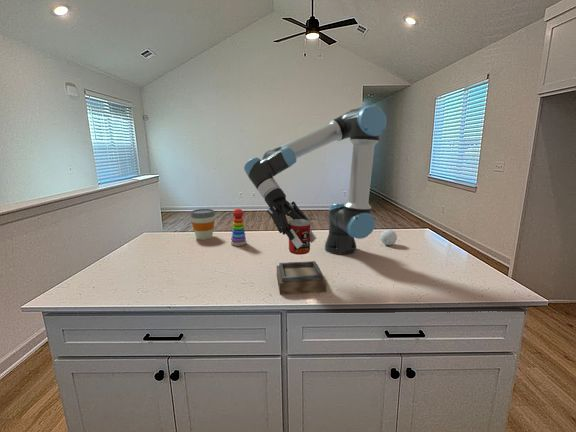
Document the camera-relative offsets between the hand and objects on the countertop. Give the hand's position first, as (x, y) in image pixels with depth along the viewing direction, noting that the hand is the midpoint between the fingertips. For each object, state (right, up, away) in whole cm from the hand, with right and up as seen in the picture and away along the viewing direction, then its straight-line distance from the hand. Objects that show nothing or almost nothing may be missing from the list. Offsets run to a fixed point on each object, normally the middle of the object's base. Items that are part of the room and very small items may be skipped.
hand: (307, 243), depth 106 cm
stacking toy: (-32, -5, +52) cm, 61 cm away
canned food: (-3, -3, +3) cm, 5 cm away
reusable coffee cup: (-54, -3, +64) cm, 84 cm away
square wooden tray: (-2, -15, +6) cm, 16 cm away
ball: (+44, -5, +48) cm, 66 cm away
